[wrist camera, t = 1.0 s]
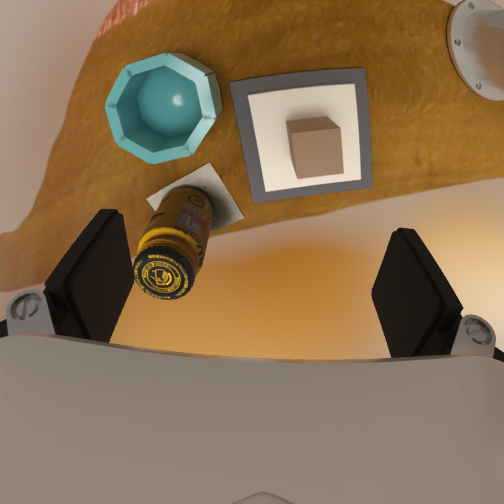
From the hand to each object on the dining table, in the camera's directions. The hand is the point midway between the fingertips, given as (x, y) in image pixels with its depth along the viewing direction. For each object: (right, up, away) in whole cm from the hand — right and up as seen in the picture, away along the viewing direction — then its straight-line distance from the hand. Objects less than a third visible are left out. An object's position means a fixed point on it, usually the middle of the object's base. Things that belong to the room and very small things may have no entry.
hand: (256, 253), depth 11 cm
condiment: (-6, +5, +24) cm, 25 cm away
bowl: (-8, +15, +17) cm, 24 cm away
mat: (+5, +12, +19) cm, 23 cm away
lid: (+5, +11, +19) cm, 22 cm away
